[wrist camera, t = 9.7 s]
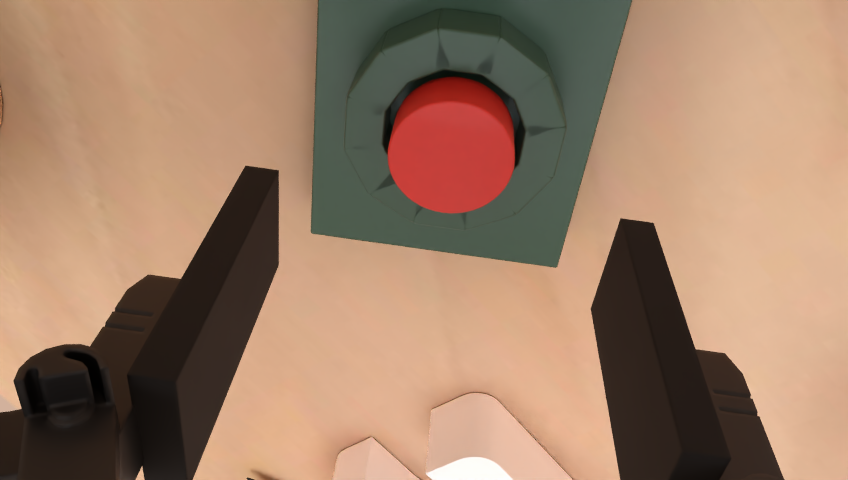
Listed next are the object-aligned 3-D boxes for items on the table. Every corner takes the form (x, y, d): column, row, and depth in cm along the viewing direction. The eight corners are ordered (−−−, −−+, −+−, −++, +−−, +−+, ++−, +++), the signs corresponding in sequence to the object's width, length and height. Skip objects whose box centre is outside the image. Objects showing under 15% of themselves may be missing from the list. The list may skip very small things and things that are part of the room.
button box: (335, -108, 22) (306, -80, 18) (633, -66, 22) (658, -30, 18) (322, 201, 28) (299, 263, 25) (552, 234, 28) (561, 300, 25)
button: (399, 68, 21) (393, 92, 19) (524, 85, 21) (526, 111, 19) (388, 175, 23) (382, 205, 21) (501, 191, 23) (502, 221, 21)
